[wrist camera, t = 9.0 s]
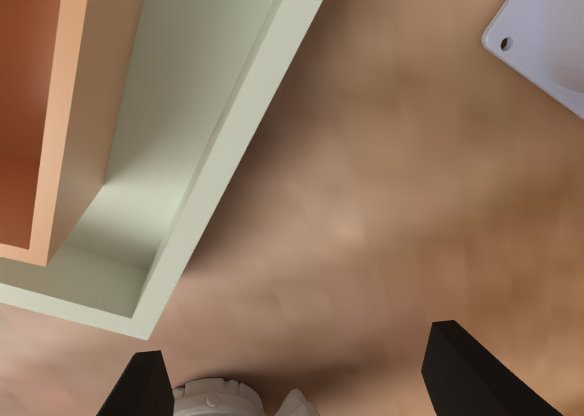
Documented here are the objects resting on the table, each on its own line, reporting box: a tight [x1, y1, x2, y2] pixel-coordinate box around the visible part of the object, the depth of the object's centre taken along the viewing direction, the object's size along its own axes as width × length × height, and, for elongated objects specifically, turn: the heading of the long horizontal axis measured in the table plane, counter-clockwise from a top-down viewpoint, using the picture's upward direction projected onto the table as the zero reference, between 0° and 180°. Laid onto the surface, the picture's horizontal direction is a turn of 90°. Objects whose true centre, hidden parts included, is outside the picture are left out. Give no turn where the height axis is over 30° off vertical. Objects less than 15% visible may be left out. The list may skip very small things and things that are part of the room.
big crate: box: [0, 0, 323, 340], centre depth 13 cm, size 14×16×4 cm
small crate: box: [0, 0, 143, 267], centre depth 11 cm, size 5×8×6 cm, turn 157°
